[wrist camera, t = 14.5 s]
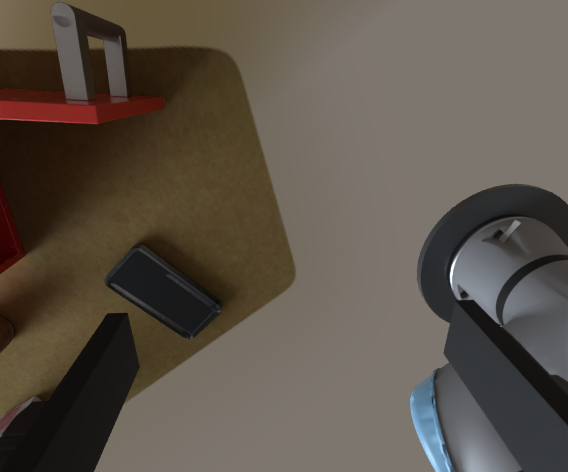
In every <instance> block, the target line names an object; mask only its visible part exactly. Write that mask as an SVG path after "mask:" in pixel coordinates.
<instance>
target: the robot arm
mask: <svg viewBox="0 0 568 472" xmlns="http://www.w3.org/2000/svg"><path fill="white" fill-rule="evenodd" d="M447 281H448V285H449V288H450V290H451V292H452V293H453V295H454V296H455V297H456V298H457V299H458V300H455V304H454V309H453V313H452V318H451V322H450V327H449V331H448V335H447V340H446V344H445V349H444V355H445V356H446V358H447V359H448V361H449V363H448V364H446V365H445V366H443V367H442V368H438V369H436V370H434V371H433V373H432V375H430V376H429V377H428V378H427V379H425V380H424V381H423V382H422V383H420V384H419V385H418V386H416V388H415V389H414V390H413V392H412V395H411V400H410V404H411V414H412V419H413V422H414V426H415V428H416V431H417V434H418V437H419V439H420V441H421V444H422V446H423V448H424V450H425V452H426V454H427V456H428V458H429V460H430V462H431V464H432V466H433V467H434V469H435V471H436V472H568V247H567V246H566V245H565V244H564V242H563V241H562V240H561V239H560V237H559V236H558V235H557V234H556V233H555V232H554V231H553V230H552V229H551V228H550V227H548V226H547V225H546V224H544V223H542V222H540V221H538V220H536V219H534V218H532V217H529V216H525V215H518V214H511V215H503V216H499V217H495V218H493V219H490V220H488V221H486V222H484V223H482V224H480V225H478V226H477V227H475V228H474V229H473V230H471V231H470V232H469V233H468V234H467V235H466V236H465V237H464V238H463V239H462V240H461V241H460V242H459V244H458V245H457V246H456V248H455V250H454V251H453V253H452V255H451V257H450V260H449V263H448V268H447ZM497 323H498V324H500V325H502V327H500V326H499V325H498V324H497ZM139 367H140V366H139V362H138V357H137V353H136V348H135V344H134V339H133V335H132V331H131V326H130V322H129V317H128V313H109V314H107V315H106V316H105V318H104V319H103V321H102V322H101V324H100V325H99V327H98V328H97V330H96V331H95V333H94V334H93V335H92V337H91V338H90V340H89V341H88V343H87V344H86V346H85V347H84V349H83V350H82V352H81V353H80V355H79V356H78V357H77V359H76V360H75V362H74V363H73V365H72V366H71V368H70V369H69V371H68V372H67V374H66V375H65V376H64V378H63V379H62V381H61V382H60V384H59V385H58V387H57V388H56V390H55V391H54V393H53V394H52V396H51V397H50V398H49V400H48V401H35V402H32V403H30V404H29V405H28V406H27V407H26V408H24V409H23V410H22V411H21V412H20V413H19V414H17V415H16V416H15V417H14V418H13V420H12V421H11V422H10V424H9V425H8V426H7V428H6V429H5V430H4V432H3V433H2V436H1V437H0V472H94V470H95V468H96V465H97V463H98V461H99V459H100V457H101V454H102V452H103V449H104V447H105V445H106V443H107V441H108V438H109V436H110V434H111V431H112V429H113V426H114V425H115V422H116V420H117V418H118V415H119V413H120V411H121V409H122V406H123V404H124V402H125V399H126V397H127V395H128V393H129V390H130V388H131V386H132V383H133V381H134V379H135V377H136V374H137V372H138V370H139Z"/></svg>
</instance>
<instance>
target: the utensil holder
mask: <svg viewBox="0 0 568 472" xmlns="http://www.w3.org/2000/svg"><path fill="white" fill-rule="evenodd" d="M13 336H14V329H13V327H12V325H11V324H10V322H9V321H8V320H6V319H5V318H3V317H2V316H0V353H1V352H2V351H3V350H4V349H5V348H6V347H7V345H8V344H9V343H10V342H11V341H12V339H13Z"/></svg>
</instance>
